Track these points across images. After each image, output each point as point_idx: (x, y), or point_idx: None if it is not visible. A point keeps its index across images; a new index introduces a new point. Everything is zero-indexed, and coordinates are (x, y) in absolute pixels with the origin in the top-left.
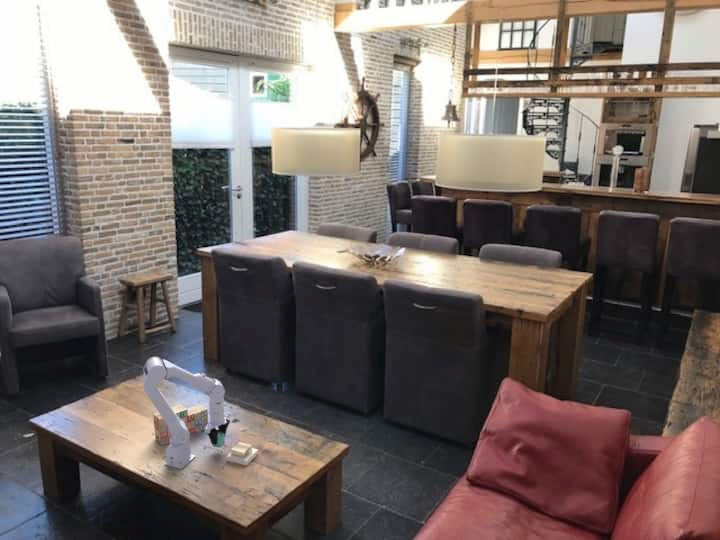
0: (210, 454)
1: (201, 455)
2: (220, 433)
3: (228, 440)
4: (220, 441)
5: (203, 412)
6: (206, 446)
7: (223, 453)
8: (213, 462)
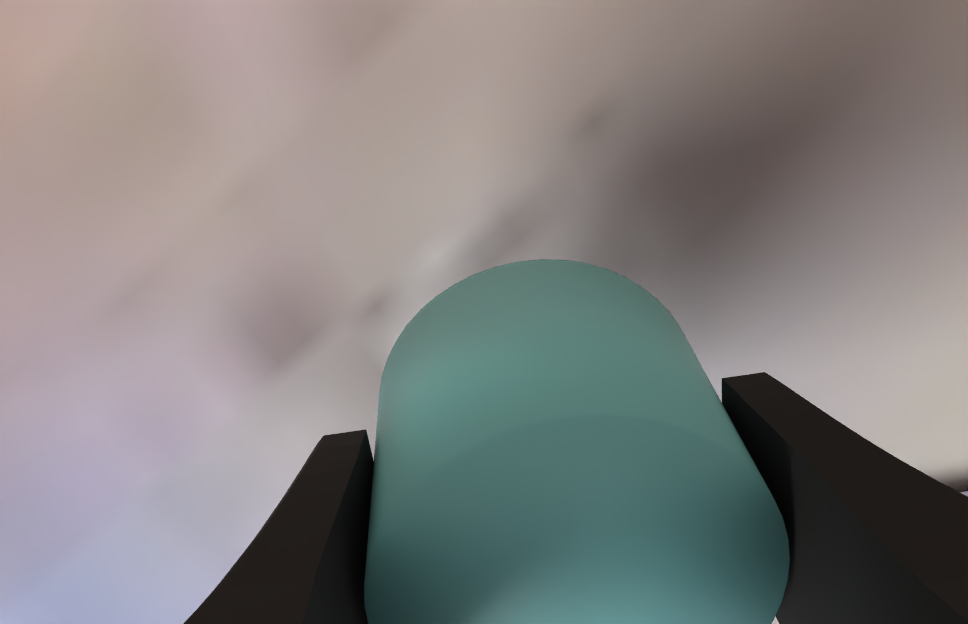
0: None
1: None
2: (461, 597)
3: (101, 415)
4: (664, 356)
5: None
6: None
7: (541, 171)
8: (925, 114)
